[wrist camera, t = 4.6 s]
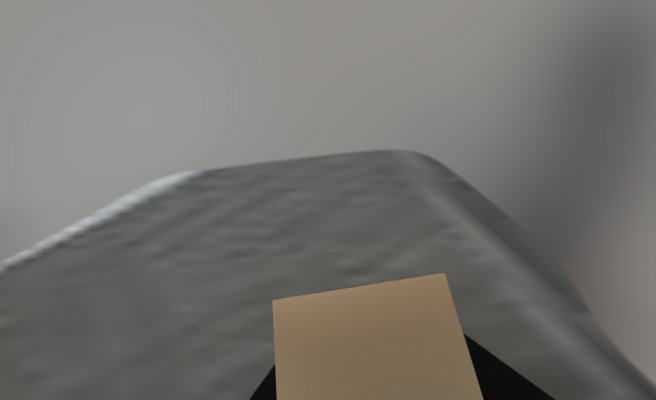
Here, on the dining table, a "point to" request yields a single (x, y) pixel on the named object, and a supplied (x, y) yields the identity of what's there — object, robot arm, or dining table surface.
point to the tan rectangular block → (373, 344)
